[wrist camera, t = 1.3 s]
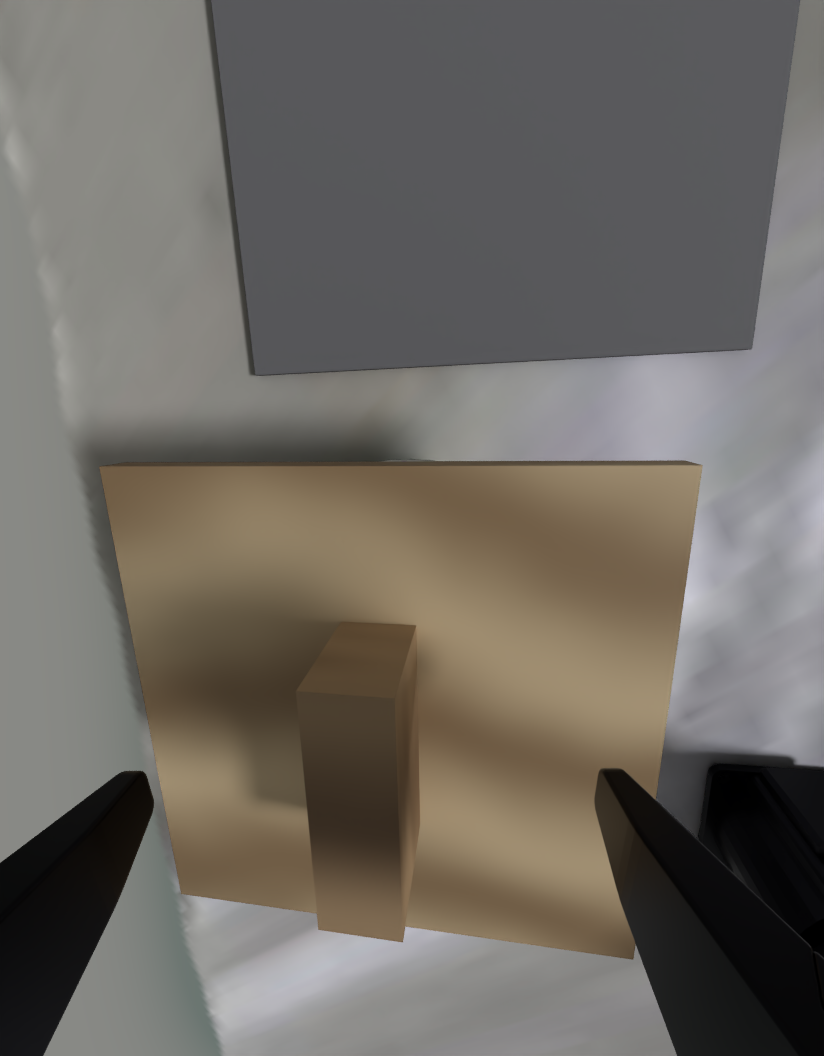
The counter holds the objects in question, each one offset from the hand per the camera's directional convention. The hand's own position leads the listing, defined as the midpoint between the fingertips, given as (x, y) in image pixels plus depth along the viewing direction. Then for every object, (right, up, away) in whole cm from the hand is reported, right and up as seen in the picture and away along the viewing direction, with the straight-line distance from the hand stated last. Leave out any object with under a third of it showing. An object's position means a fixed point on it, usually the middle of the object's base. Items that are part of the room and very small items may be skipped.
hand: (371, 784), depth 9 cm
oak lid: (0, -1, +6) cm, 6 cm away
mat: (+3, +21, +8) cm, 22 cm away
